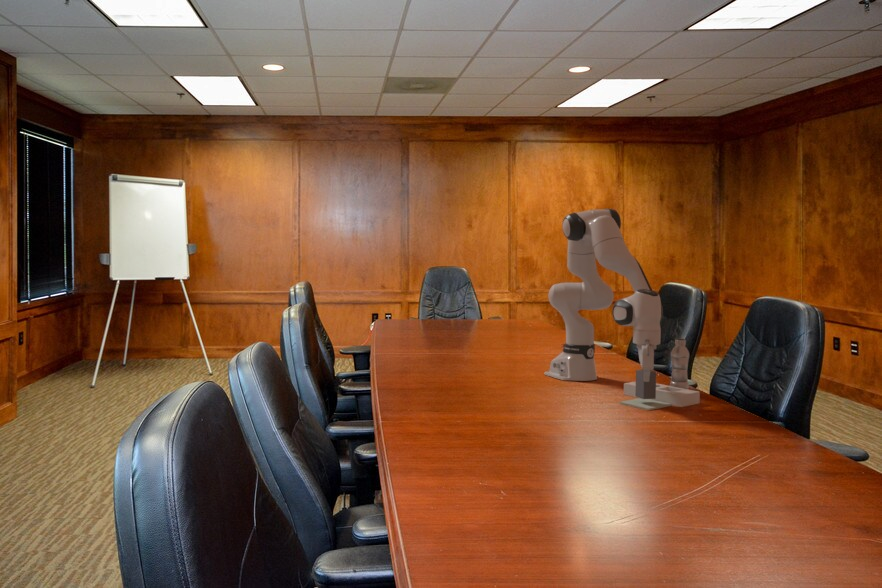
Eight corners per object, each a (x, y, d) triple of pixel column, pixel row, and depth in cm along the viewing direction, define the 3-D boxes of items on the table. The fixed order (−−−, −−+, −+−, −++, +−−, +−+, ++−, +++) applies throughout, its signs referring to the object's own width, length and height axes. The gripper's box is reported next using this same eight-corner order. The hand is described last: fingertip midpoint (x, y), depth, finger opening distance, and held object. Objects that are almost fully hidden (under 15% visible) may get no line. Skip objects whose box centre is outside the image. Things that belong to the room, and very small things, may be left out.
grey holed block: (623, 394, 239) (623, 382, 238) (641, 391, 244) (641, 379, 244) (681, 407, 219) (681, 394, 219) (699, 403, 225) (699, 390, 224)
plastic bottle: (685, 392, 242) (687, 338, 241) (690, 396, 236) (692, 340, 235) (667, 392, 243) (668, 338, 242) (672, 396, 236) (673, 340, 235)
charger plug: (635, 396, 224) (636, 369, 224) (647, 395, 225) (647, 369, 225) (643, 399, 219) (644, 372, 219) (655, 398, 220) (656, 371, 220)
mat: (619, 403, 224) (619, 401, 224) (642, 399, 231) (642, 397, 231) (648, 410, 214) (648, 408, 214) (671, 405, 221) (671, 404, 221)
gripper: (658, 342, 210) (657, 385, 211) (654, 335, 230) (653, 374, 231) (638, 341, 212) (637, 384, 213) (635, 334, 232) (634, 373, 232)
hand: (645, 379), depth 222 cm, fingers closed on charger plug, 6 cm apart
